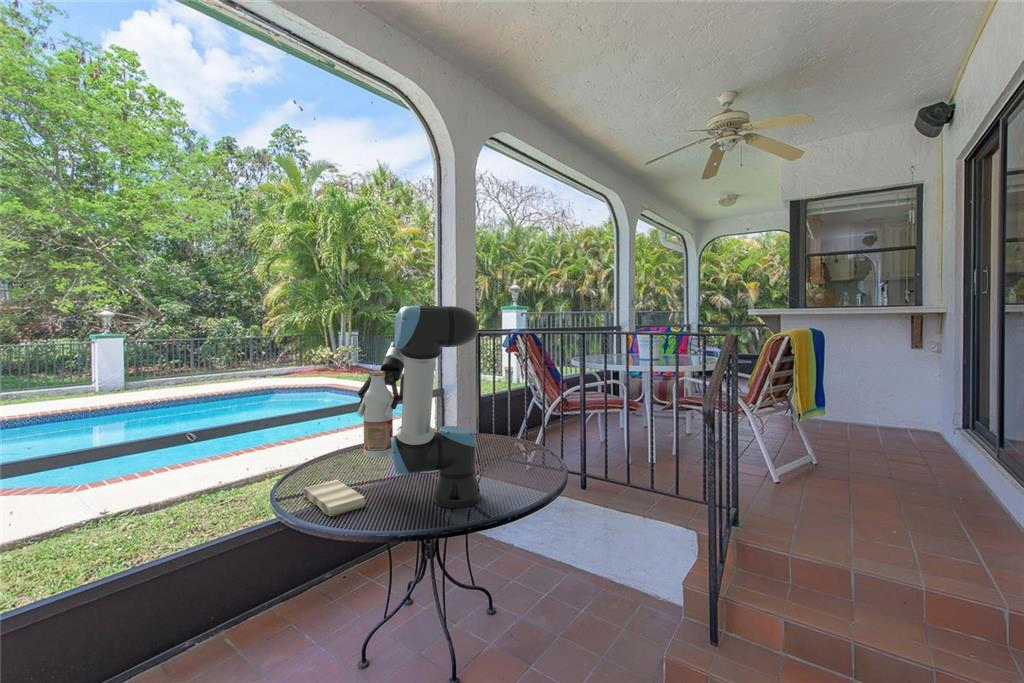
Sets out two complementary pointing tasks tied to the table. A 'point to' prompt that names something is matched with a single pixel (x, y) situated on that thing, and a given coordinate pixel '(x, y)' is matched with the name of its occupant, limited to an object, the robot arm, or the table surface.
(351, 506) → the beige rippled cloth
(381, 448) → the fruit juice
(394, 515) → the table surface
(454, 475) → the robot arm
